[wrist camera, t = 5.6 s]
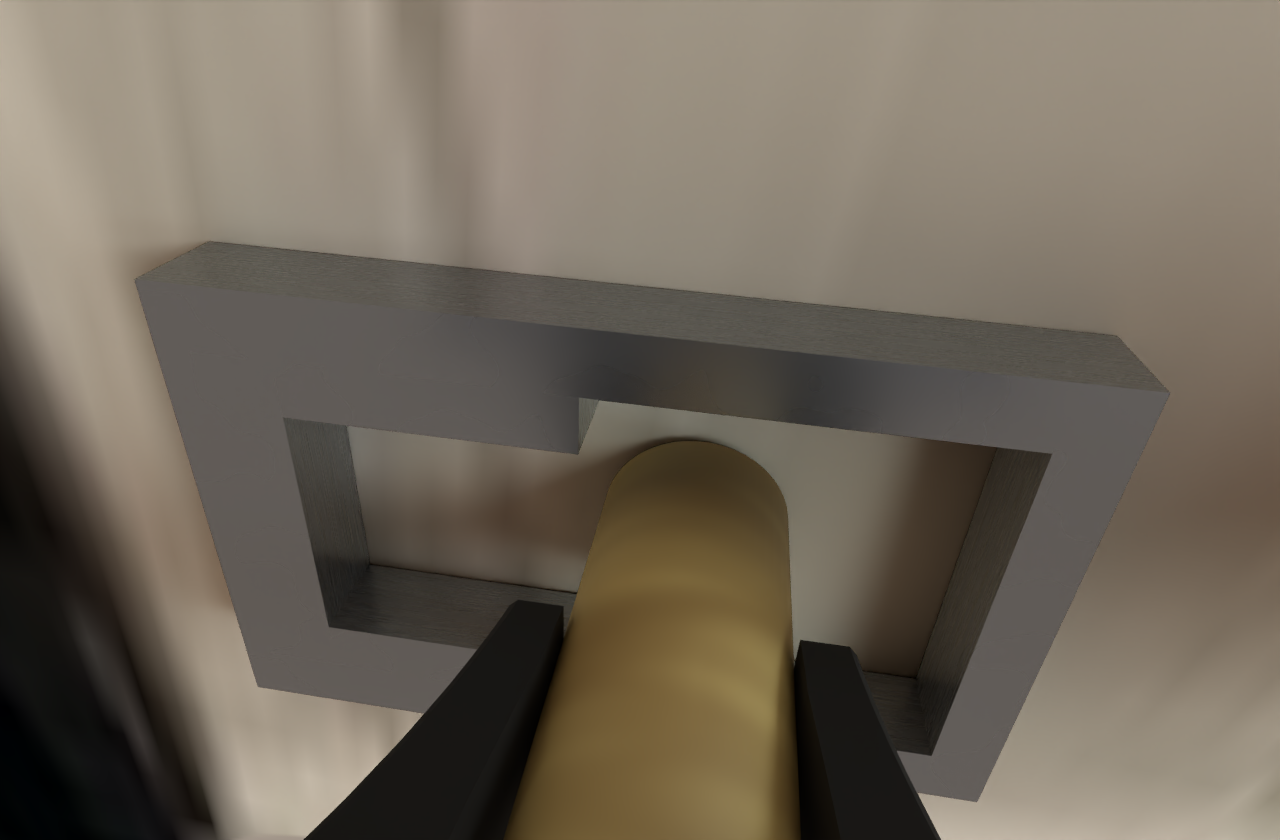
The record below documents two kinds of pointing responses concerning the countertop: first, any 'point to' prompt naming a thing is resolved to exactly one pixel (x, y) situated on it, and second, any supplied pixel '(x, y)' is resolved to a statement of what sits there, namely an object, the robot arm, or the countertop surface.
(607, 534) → the peg
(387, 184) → the countertop surface
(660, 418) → the countertop surface
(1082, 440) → the keyhole plate
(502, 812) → the robot arm
